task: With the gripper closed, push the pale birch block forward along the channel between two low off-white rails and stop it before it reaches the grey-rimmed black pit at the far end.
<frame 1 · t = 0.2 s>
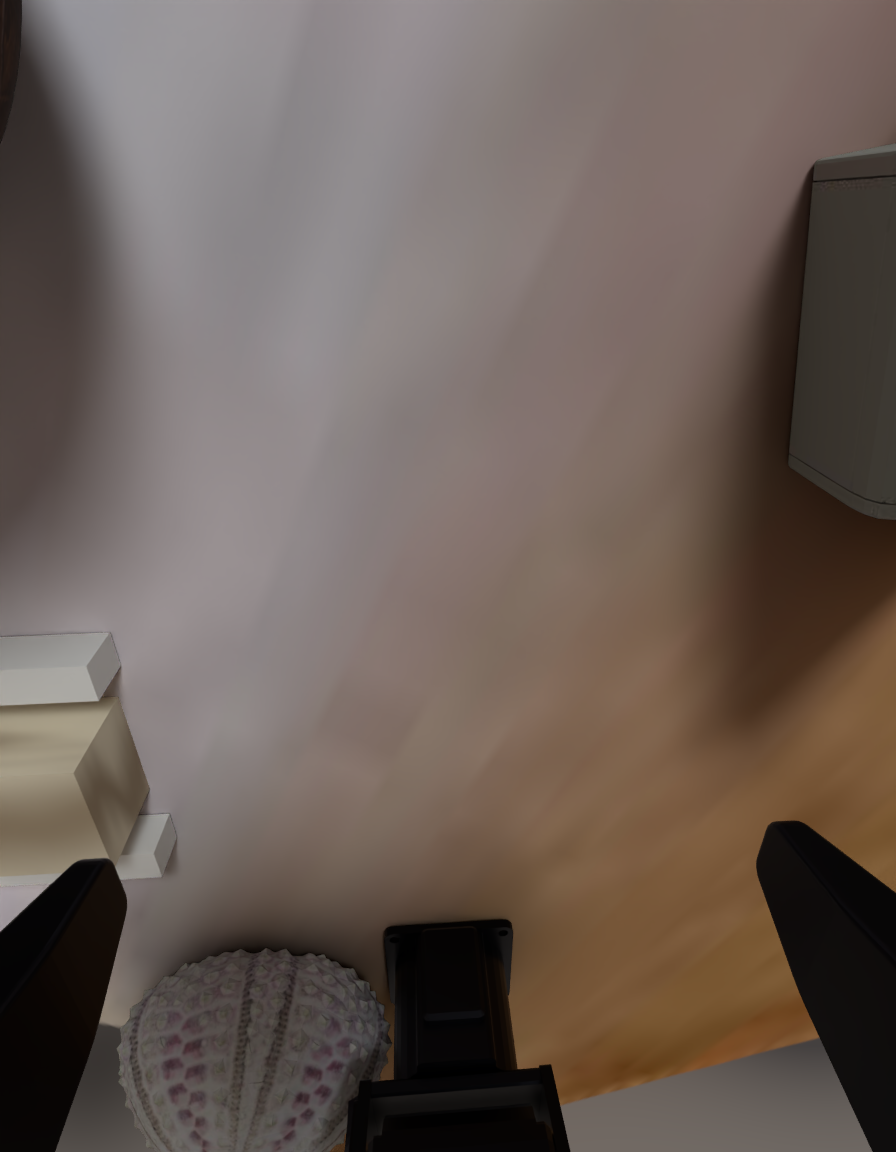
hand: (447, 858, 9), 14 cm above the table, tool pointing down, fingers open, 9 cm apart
birch block: (72, 745, 26), on the table
sea urchin shell: (267, 991, 36), on the table
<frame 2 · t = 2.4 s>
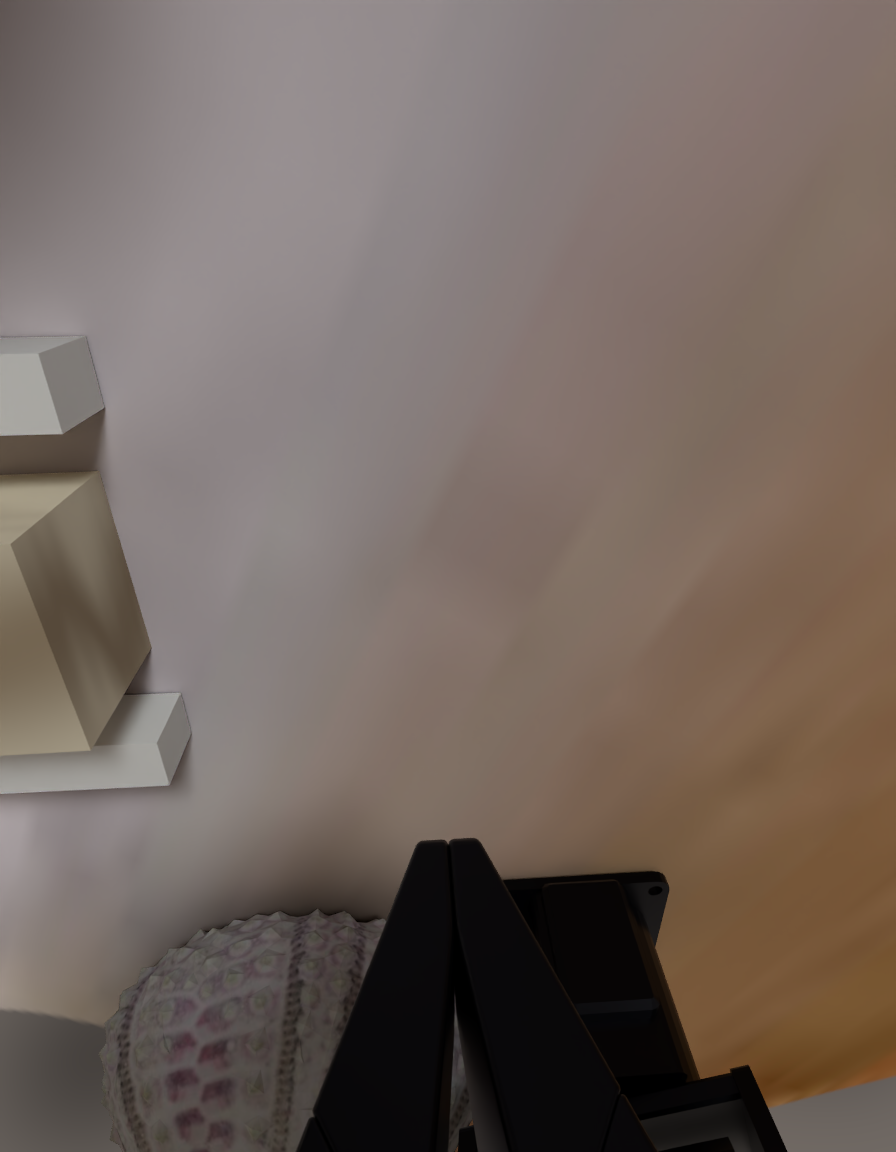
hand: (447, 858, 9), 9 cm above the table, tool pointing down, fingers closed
birch block: (27, 567, 16), on the table
sea urchin shell: (310, 975, 26), on the table
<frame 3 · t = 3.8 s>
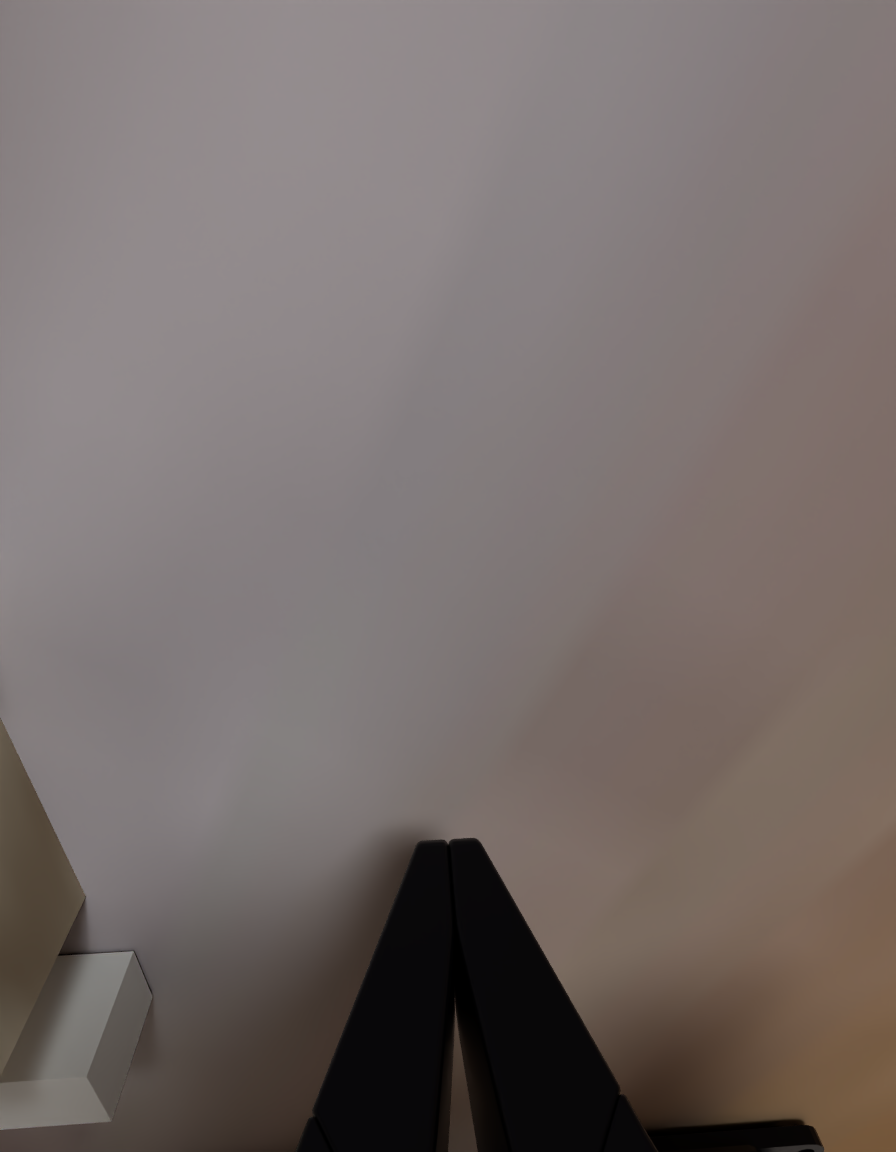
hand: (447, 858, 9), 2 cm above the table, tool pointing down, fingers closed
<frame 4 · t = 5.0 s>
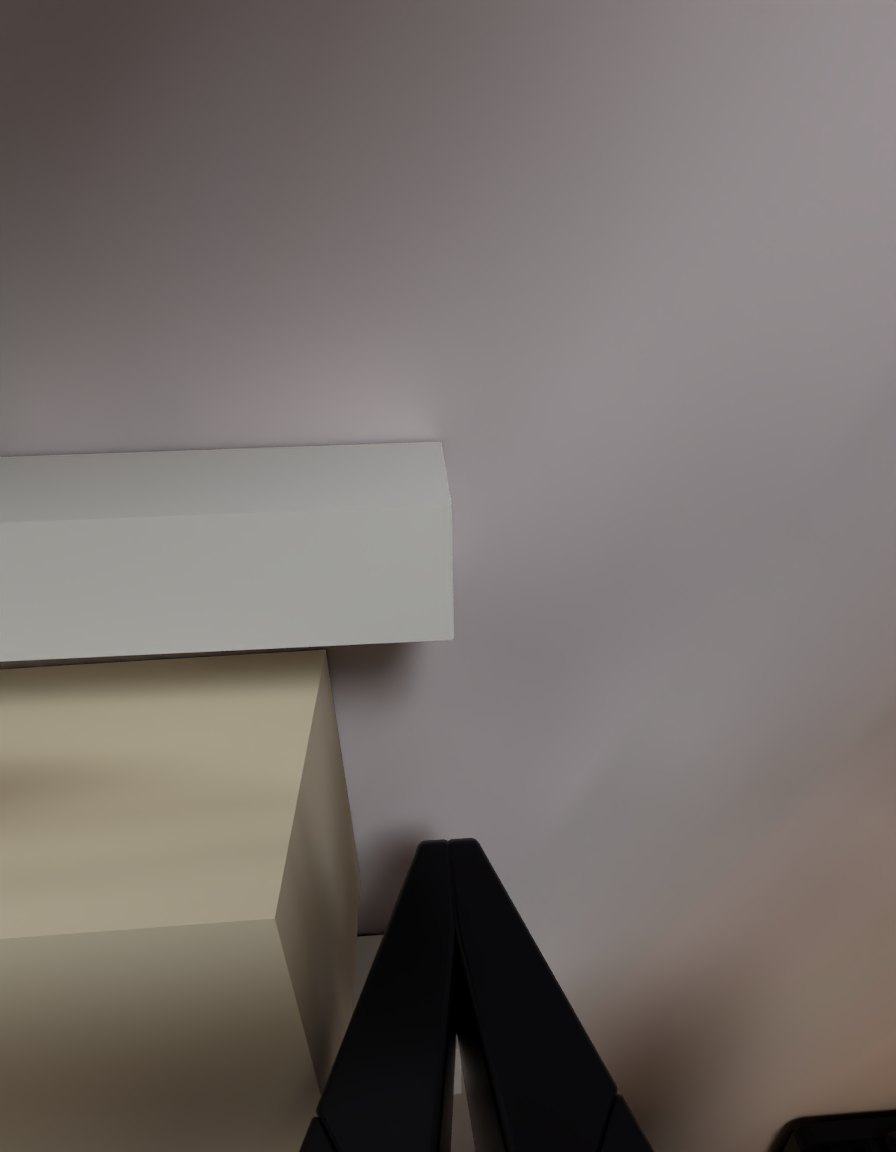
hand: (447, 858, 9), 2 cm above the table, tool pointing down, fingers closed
birch block: (186, 789, 10), on the table, touching gripper
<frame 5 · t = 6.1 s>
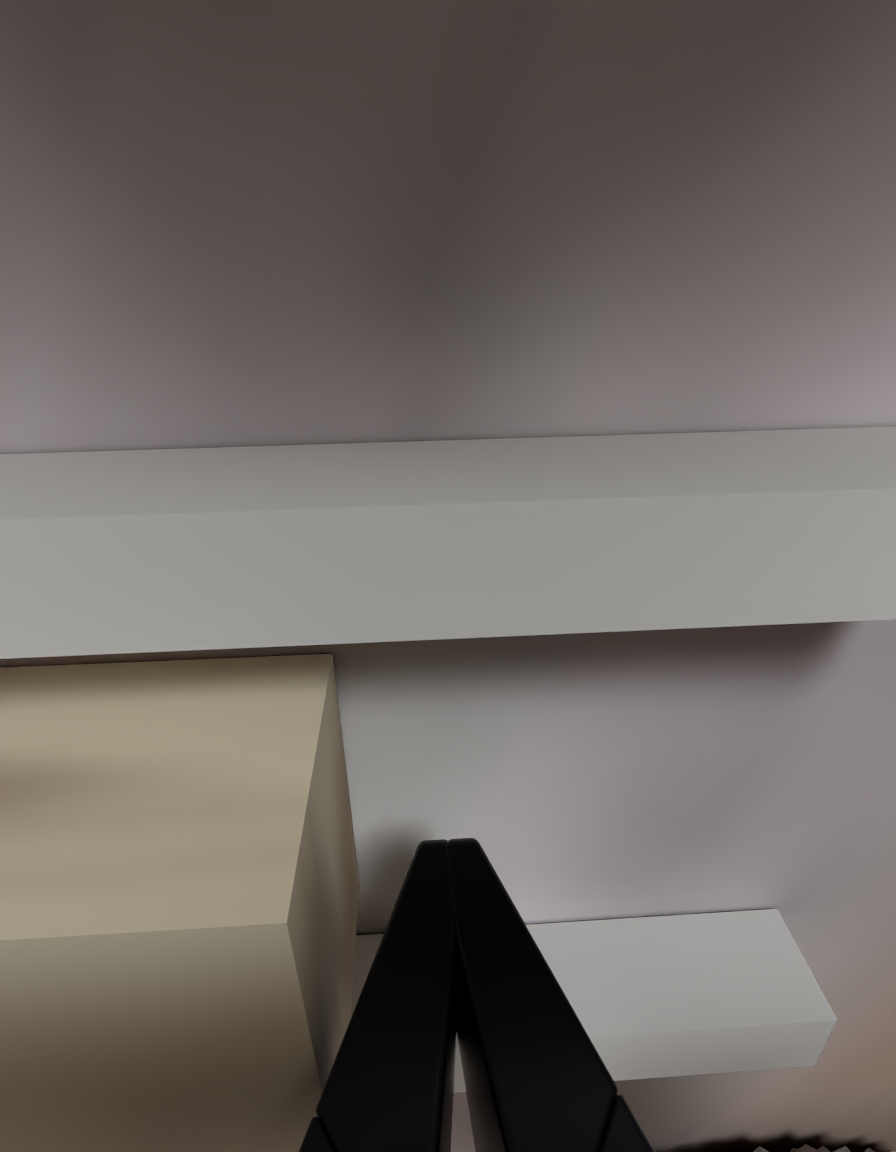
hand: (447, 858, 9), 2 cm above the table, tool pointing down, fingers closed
birch block: (188, 790, 10), on the table, touching gripper
channel: (217, 788, 10), on the table
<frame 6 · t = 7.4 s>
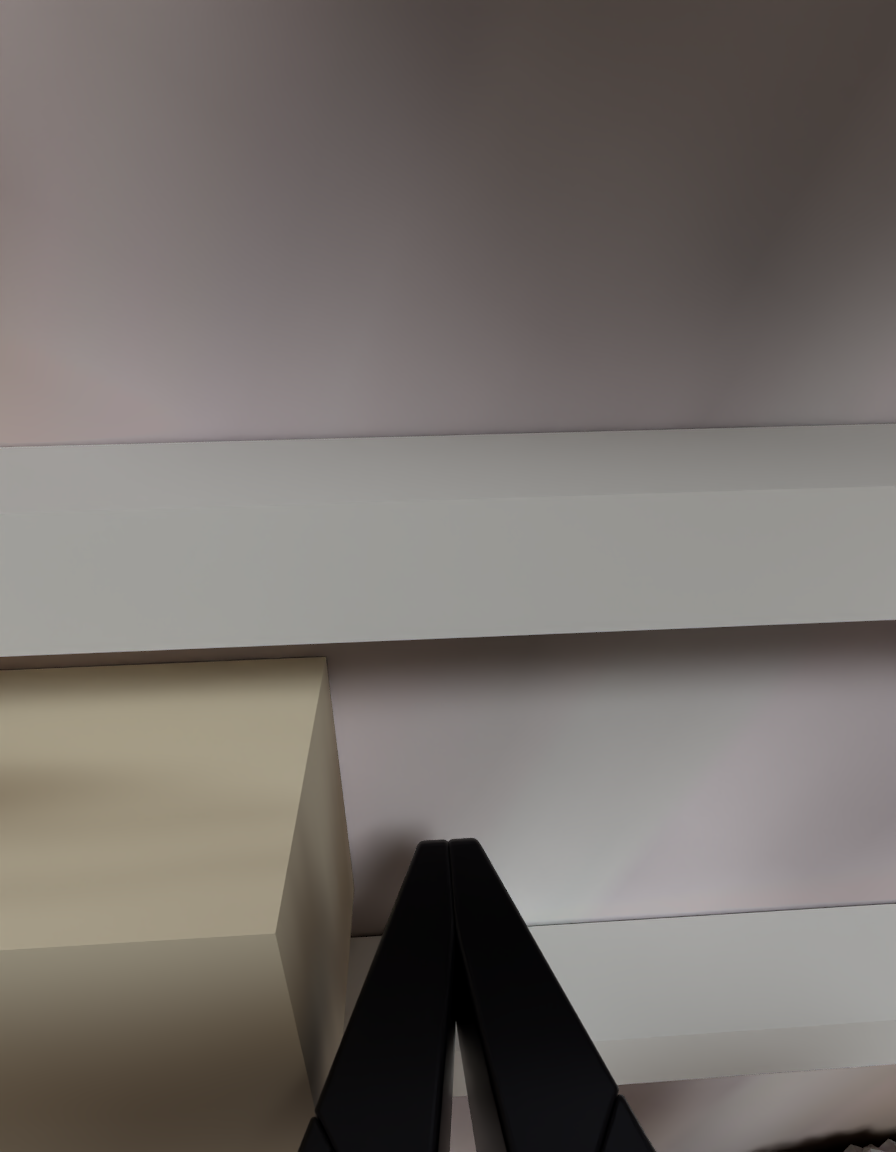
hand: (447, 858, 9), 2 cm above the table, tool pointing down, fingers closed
birch block: (180, 794, 10), on the table, touching gripper
channel: (437, 777, 10), on the table
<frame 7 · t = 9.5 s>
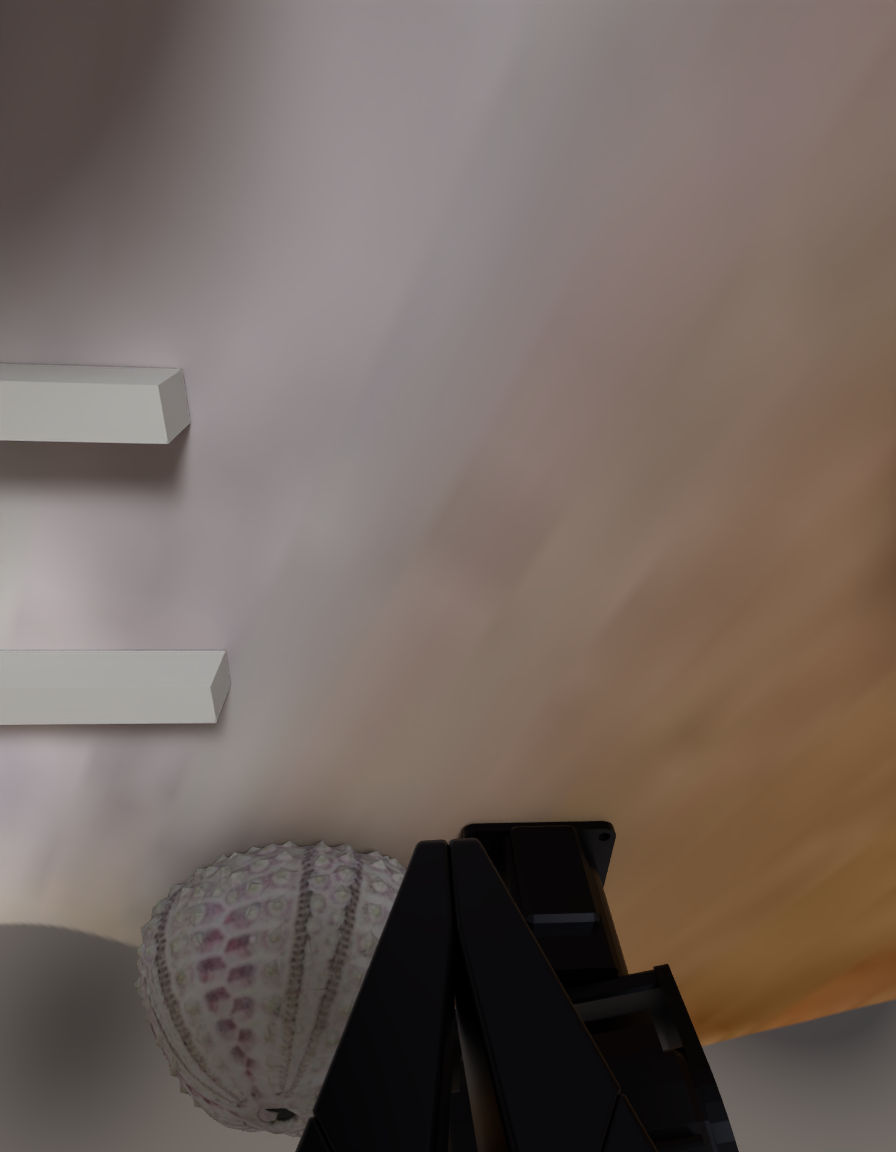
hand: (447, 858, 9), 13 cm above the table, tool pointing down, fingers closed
sea urchin shell: (309, 905, 30), on the table
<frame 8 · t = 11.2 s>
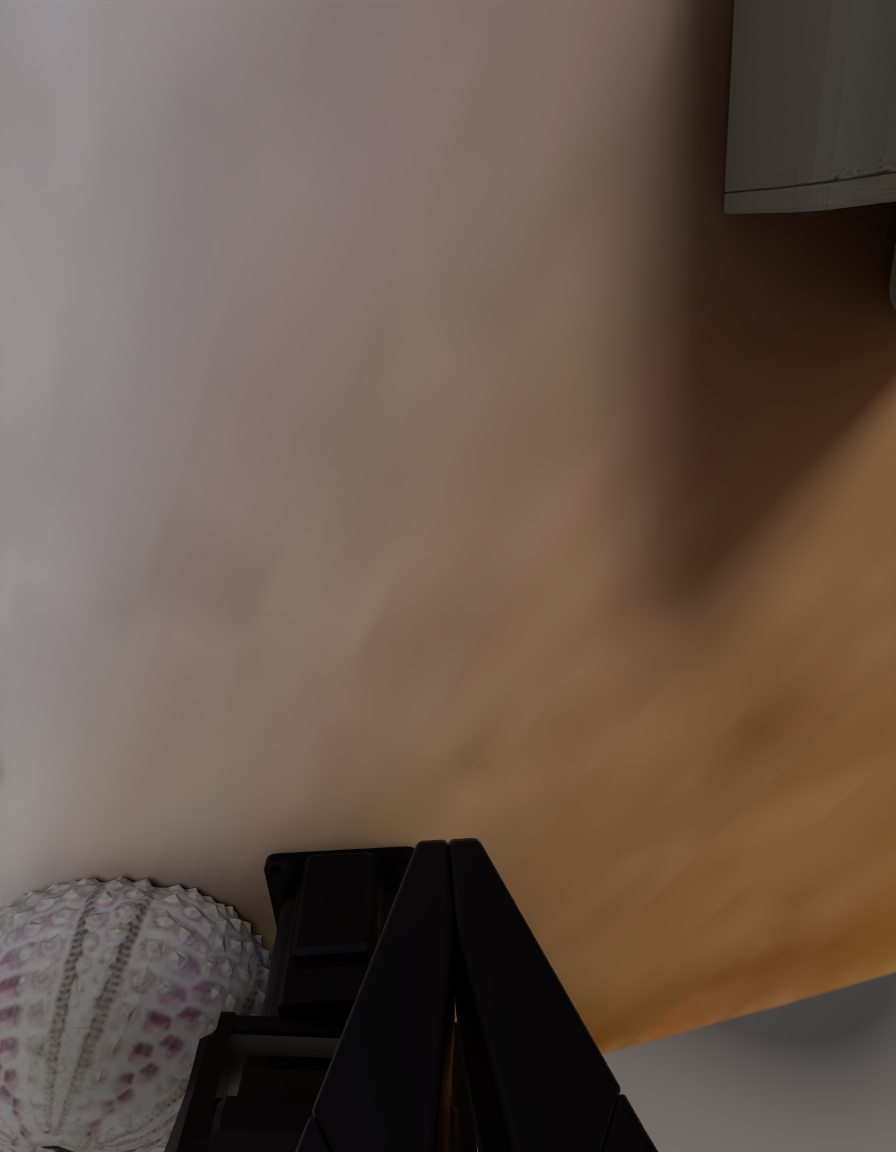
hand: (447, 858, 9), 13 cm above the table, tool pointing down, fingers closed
sea urchin shell: (139, 936, 30), on the table
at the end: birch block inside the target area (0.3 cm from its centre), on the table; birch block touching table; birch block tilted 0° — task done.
